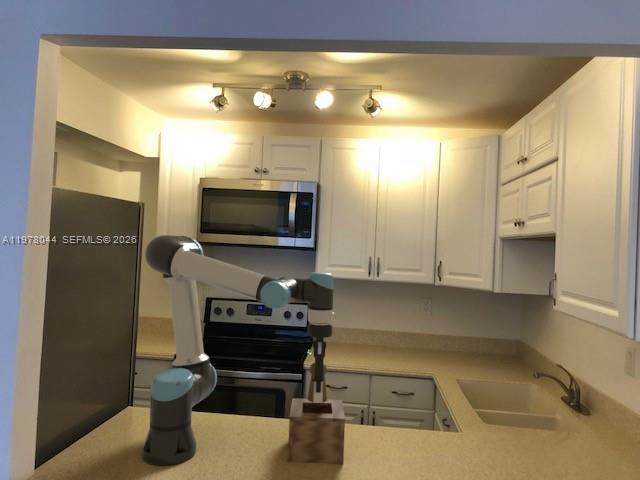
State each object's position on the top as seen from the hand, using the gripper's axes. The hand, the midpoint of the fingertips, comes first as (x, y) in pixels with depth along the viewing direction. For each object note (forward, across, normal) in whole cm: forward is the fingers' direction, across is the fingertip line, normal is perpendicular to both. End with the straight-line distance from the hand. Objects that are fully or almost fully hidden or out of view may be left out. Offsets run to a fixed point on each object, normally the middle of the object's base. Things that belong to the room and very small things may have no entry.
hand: (317, 398), depth 139 cm
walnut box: (+16, 0, 0) cm, 16 cm away
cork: (0, 0, 0) cm, 1 cm away
